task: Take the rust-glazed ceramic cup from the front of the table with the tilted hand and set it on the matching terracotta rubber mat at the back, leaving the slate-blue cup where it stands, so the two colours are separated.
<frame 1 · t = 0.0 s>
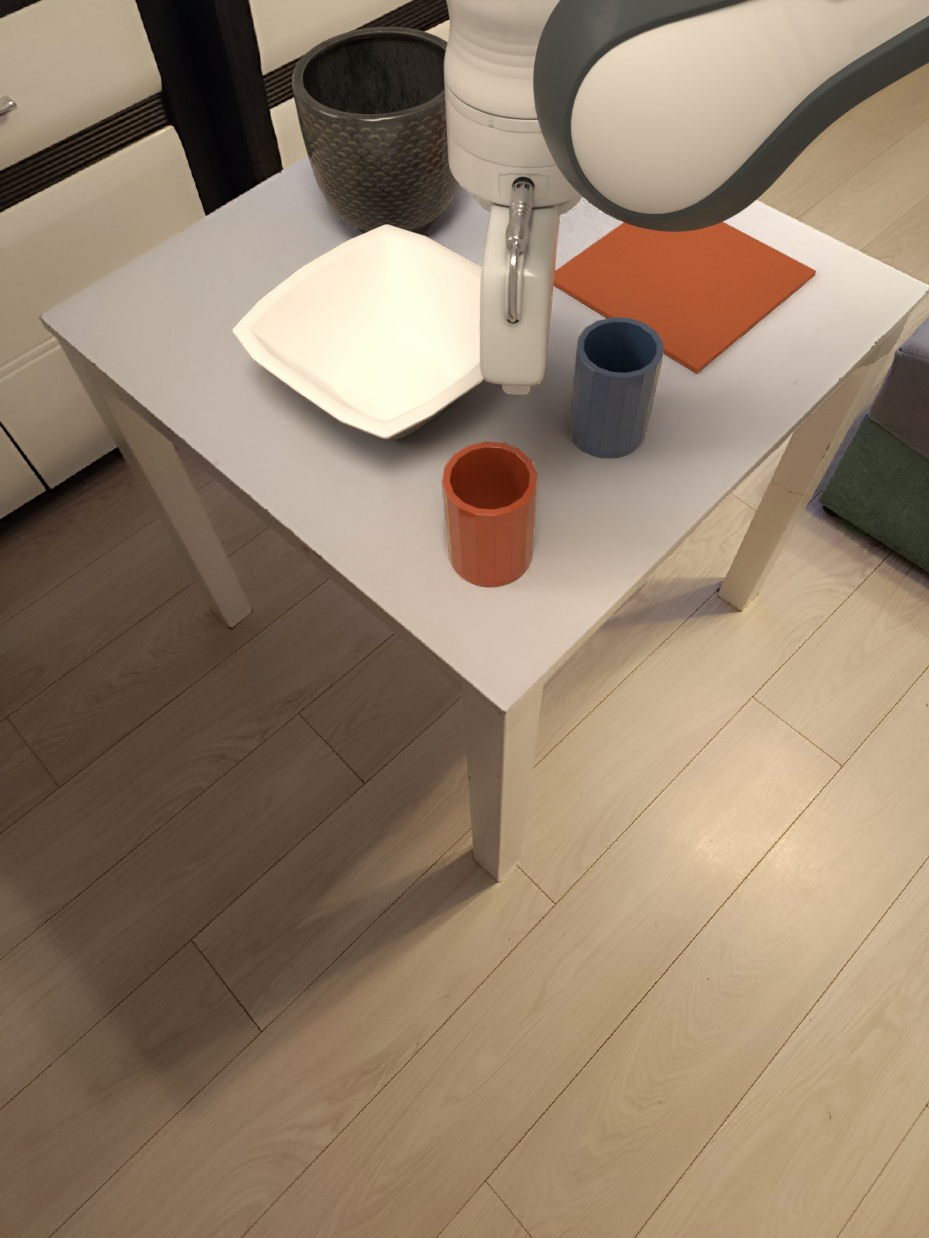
hand: (523, 335, 57), 21 cm above the table, tool pointing down, fingers open, 8 cm apart
blue cup: (607, 429, 81), on the table
bowl: (395, 390, 84), on the table
planter: (395, 220, 98), on the table
rust cup: (490, 552, 74), on the table
rust mat: (680, 278, 91), on the table
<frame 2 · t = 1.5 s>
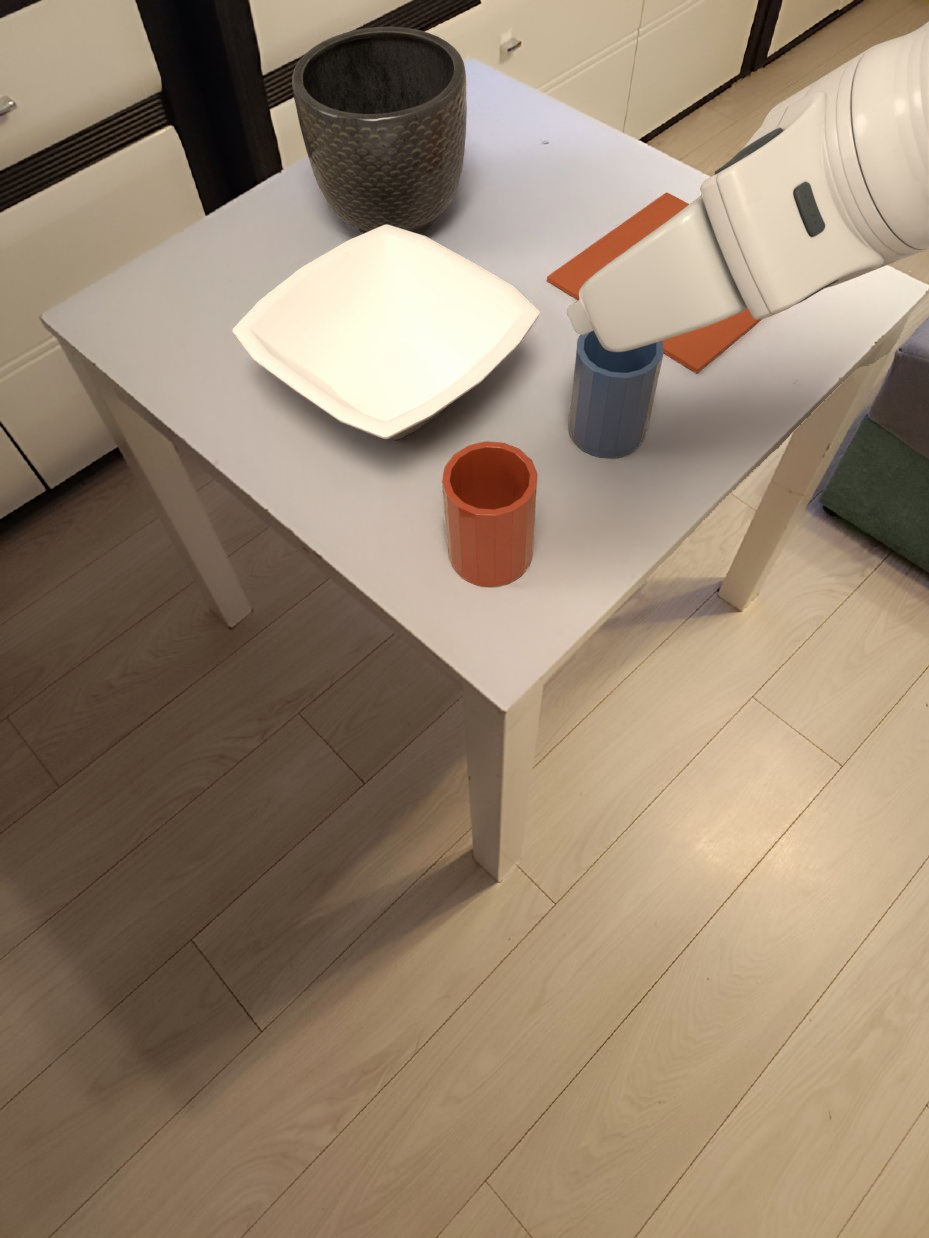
hand: (623, 287, 51), 26 cm above the table, tool tilted 45°, fingers open, 8 cm apart
nothing on the table moved.
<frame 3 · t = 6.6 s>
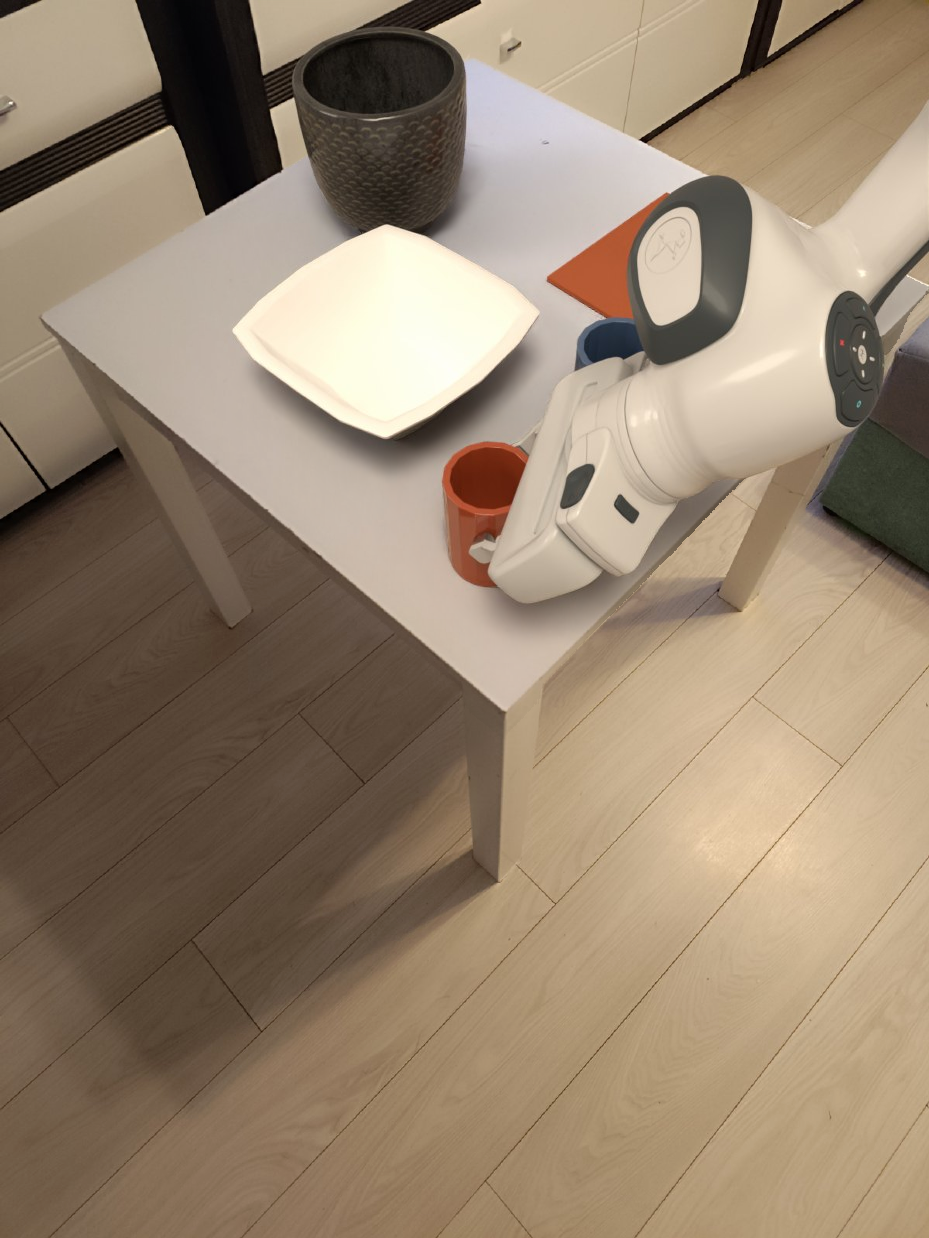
hand: (494, 504, 69), 6 cm above the table, tool tilted 45°, fingers open, 8 cm apart
rust cup: (490, 552, 74), on the table, touching gripper
everything else where it was.
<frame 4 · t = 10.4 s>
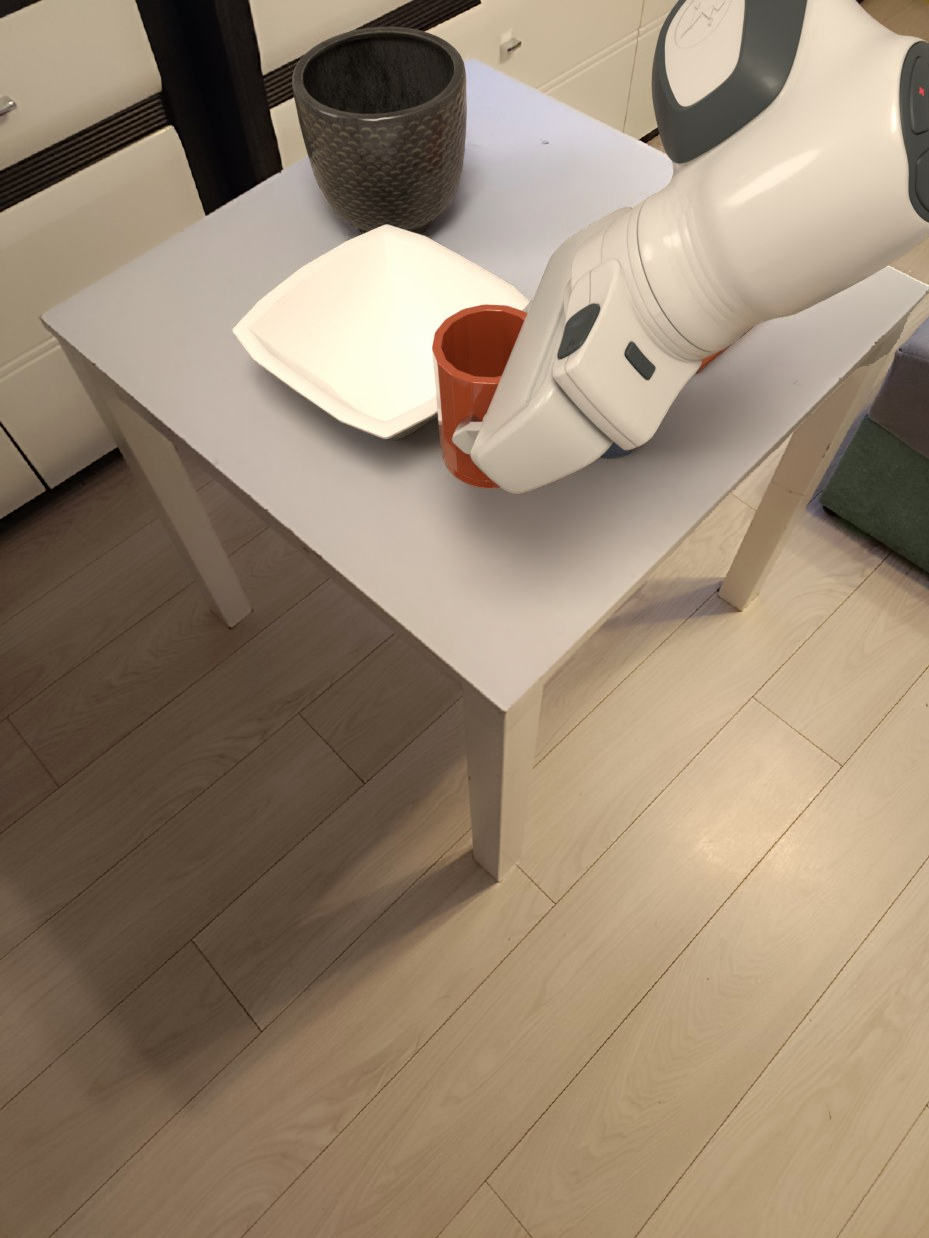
hand: (481, 394, 58), 19 cm above the table, tool tilted 45°, fingers closed on rust cup, 7 cm apart
rust cup: (491, 450, 63), point 13 cm above the table, touching gripper
everything else where it was.
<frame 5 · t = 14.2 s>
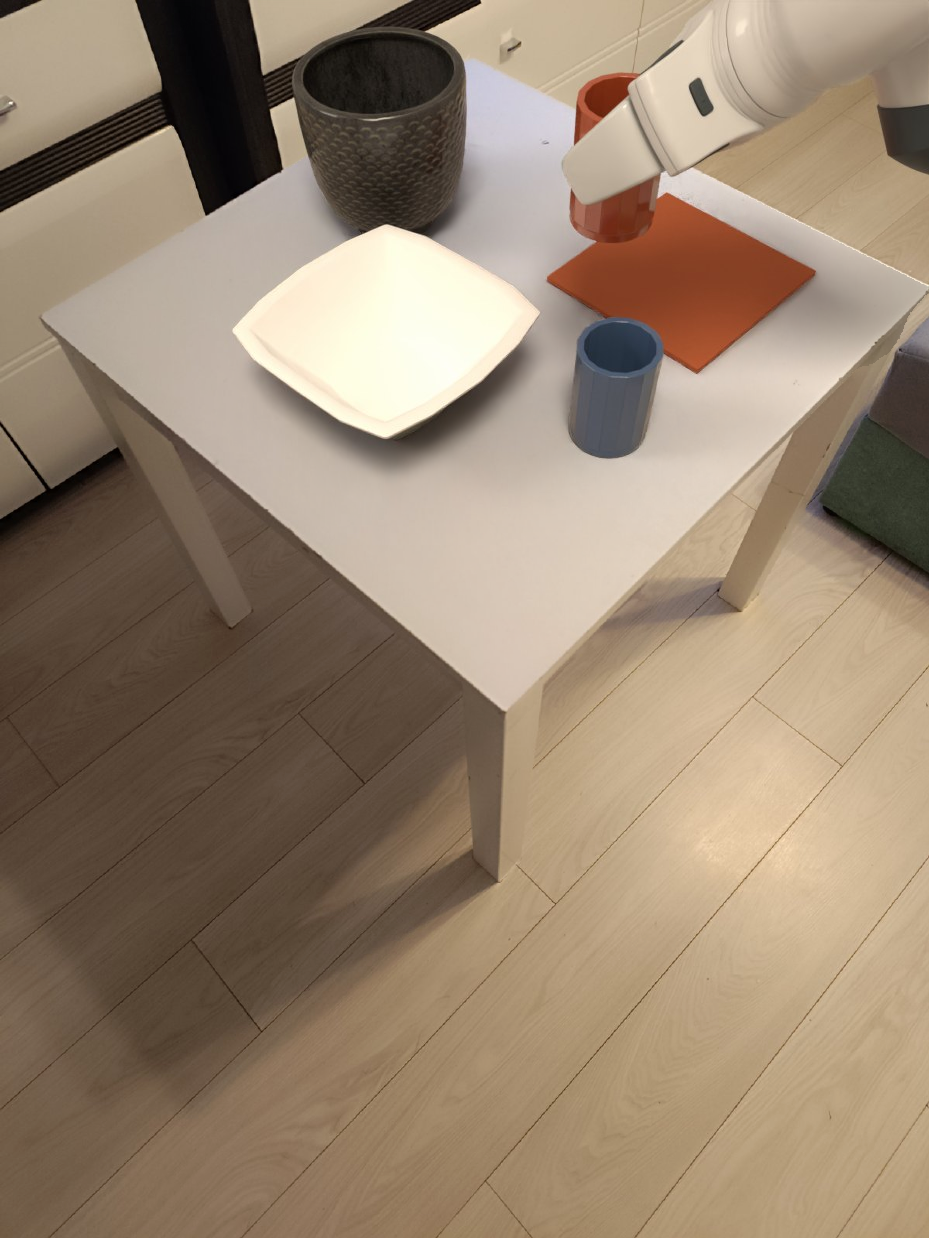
hand: (611, 152, 70), 20 cm above the table, tool tilted 45°, fingers closed on rust cup, 7 cm apart
rust cup: (611, 216, 74), point 14 cm above the table, touching gripper
everything else where it was.
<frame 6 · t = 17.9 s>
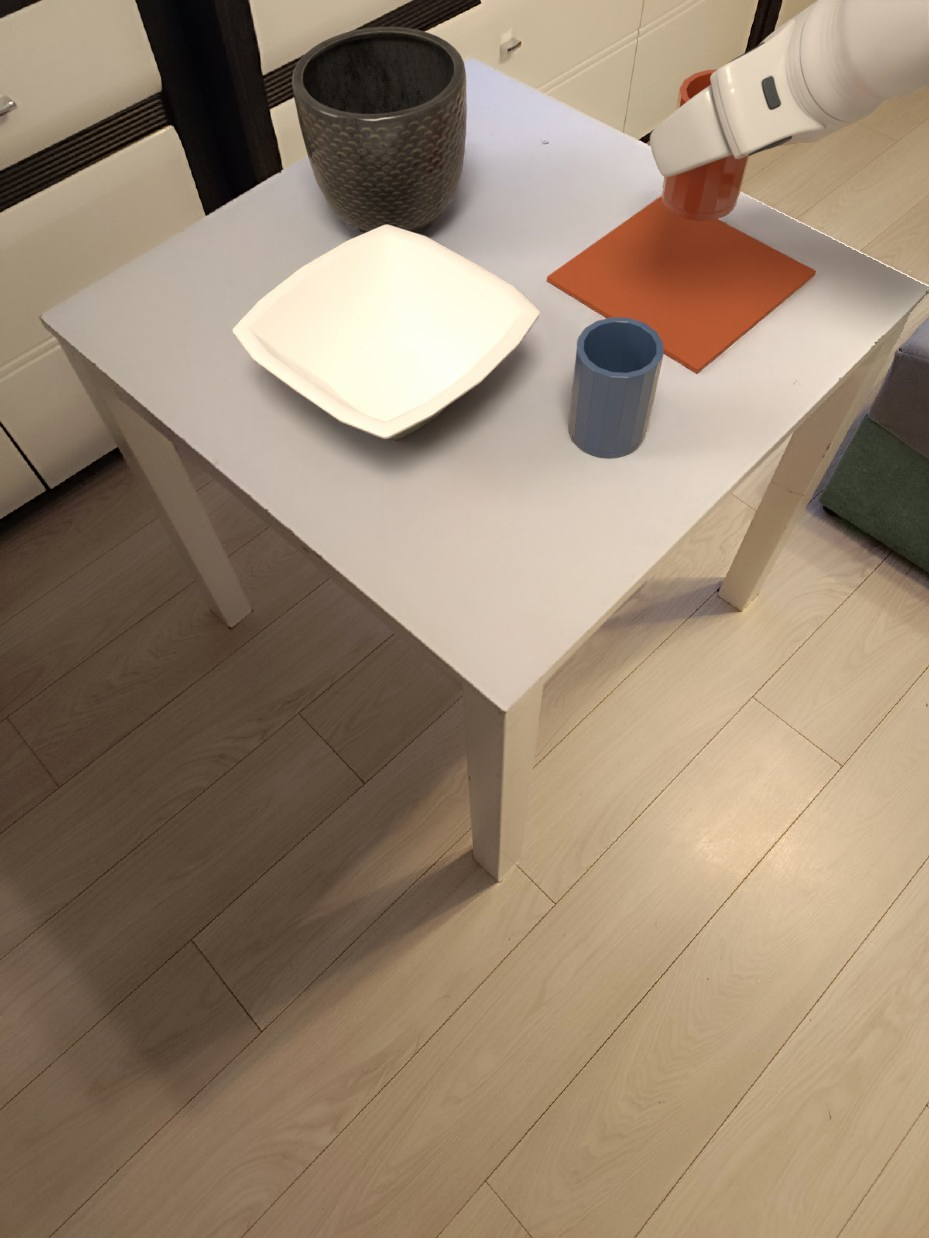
hand: (706, 139, 79), 15 cm above the table, tool tilted 45°, fingers closed on rust cup, 7 cm apart
rust cup: (699, 198, 83), point 9 cm above the table, touching gripper
everything else where it was.
when the fingers open (6 cm above the table, at t = 20.9 s): rust cup stays where it is, resting on rust mat.
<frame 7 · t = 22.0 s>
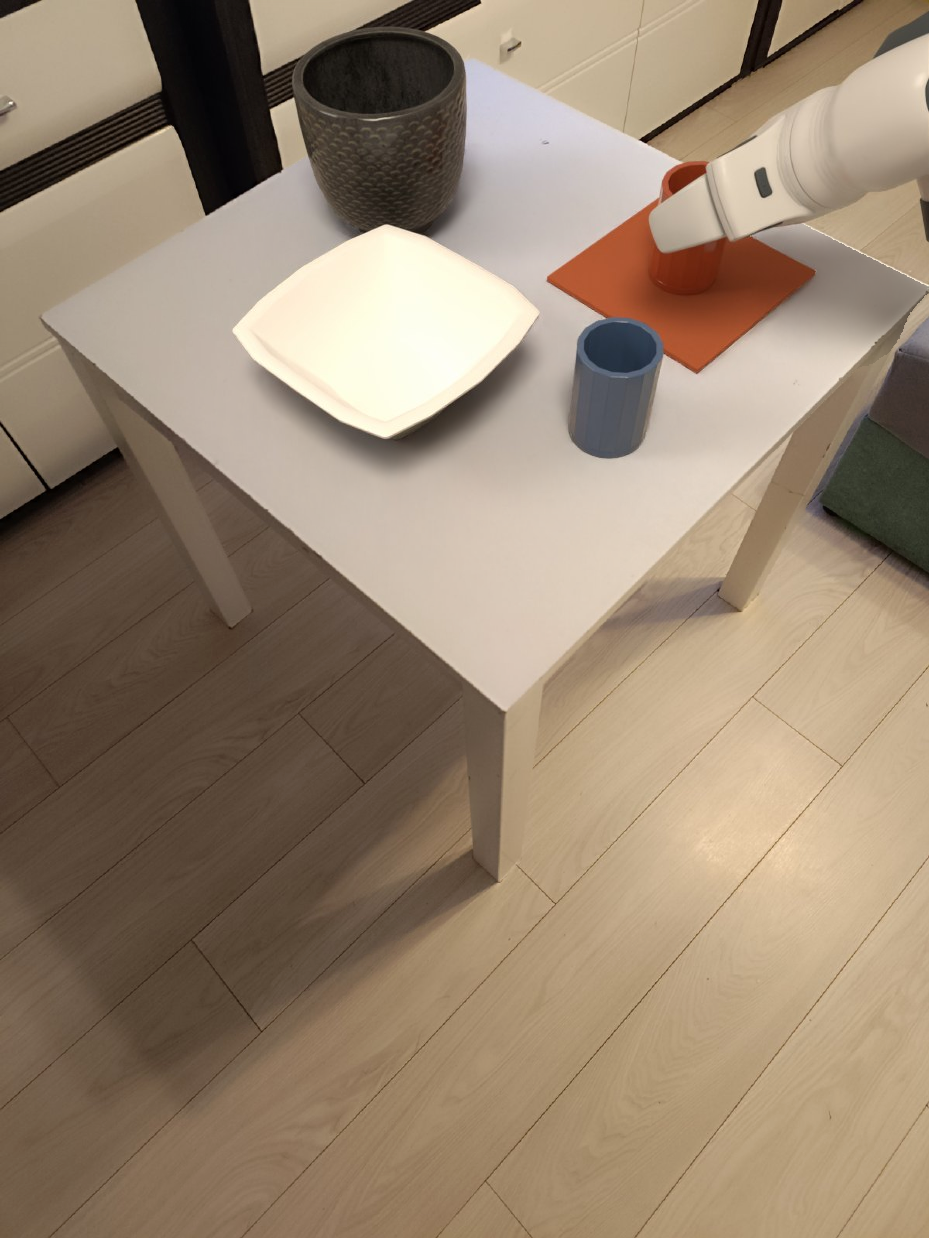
hand: (701, 212, 83), 9 cm above the table, tool tilted 45°, fingers open, 8 cm apart
rust cup: (682, 272, 90), point 1 cm above the table, touching rust mat
everything else where it was.
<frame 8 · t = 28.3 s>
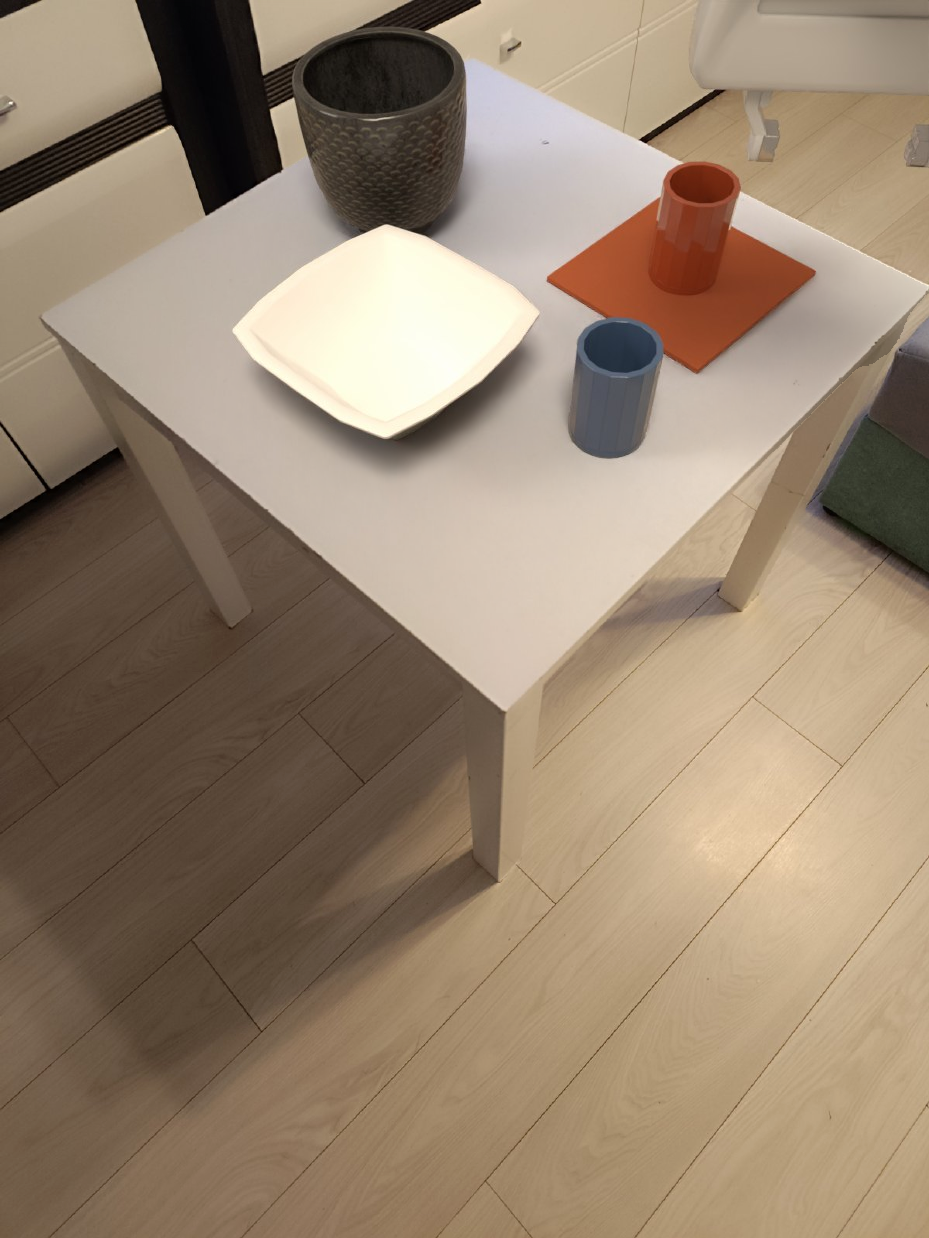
hand: (837, 159, 53), 29 cm above the table, tool pointing down, fingers open, 8 cm apart
nothing on the table moved.
at the end: rust cup inside the target area on the rust mat (0.1 cm from its centre), point 0.6 cm above the rust mat's base; rust cup tilted 0°; blue cup moved 0.0 cm from its start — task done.
